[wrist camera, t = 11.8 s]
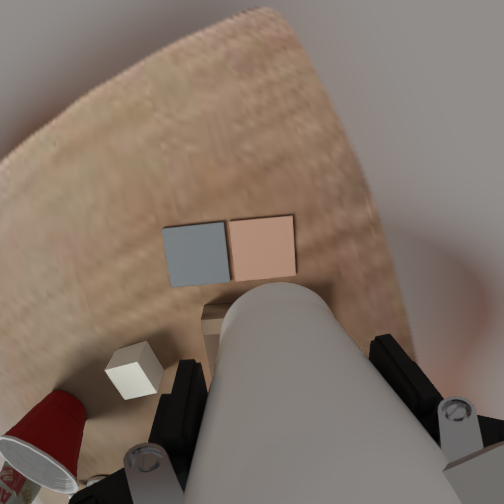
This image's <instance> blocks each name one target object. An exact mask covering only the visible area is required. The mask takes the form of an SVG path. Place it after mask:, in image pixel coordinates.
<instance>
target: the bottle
mask: <svg viewBox="0 0 504 504" xmlns="http://www.w3.org/2000/svg"><path fill="white" fill-rule="evenodd" d="M40 488H41V485H39V484H37V483H35V482H34V481H32V480H30V479H28V478H27V477H25V476H24V475H23V474H21V473H20V472H19V471H17V470H16V469H15V468H13V467H12V466H11V465H10V464H9V463H8V462H7V461H6V462H4V464H3V467H2V469H1V471H0V504H31V503H32V501H33V500H34V499H35V497H36V495H37V494H38V492H39V491H40Z"/></svg>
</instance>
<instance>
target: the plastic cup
mask: <svg viewBox="0 0 504 504" xmlns="http://www.w3.org/2000/svg"><path fill="white" fill-rule="evenodd" d="M85 422H86V410H85V408H84V406H83V405H82V403H81V402H80V401H79V400H78V399H77V398H76V397H74V396H73V395H71V394H69V393H67V392H64V391H61V390H55V391H53V392H51V393H50V394H48V395H47V396H46V397H45V398H44V399H43V400H42V401H41V402H40V403H38V404H37V405H36V406H34V407H33V408H32V409H31V410H30V411H29V412H28V413H27V414H26V415H25V416H24V417H23V418H22V419H21V420H20V421H19V422H18V423H17V424H16V425H15V426H13V427H12V428H11V429H10V430H9V431H7V432H6V433H5V434H4V435H1V436H0V454H1V455H2V457H3V458H4V459H5V460H6V461H7V462H8V463H9V464H10V465H11V466H12V467H13V468H15V469H16V470H17V471H19V472H20V473H21V474H23V475H24V476H25V477H27V478H28V479H30V480H32V481H34V482H35V483H37V484H39V485H41V486H43V487H46V488H48V489H51V490H53V491H56V492H61V493H66V494H71V493H76V492H77V490H78V489H79V485H78V483H77V462H78V457H79V452H80V447H81V442H82V437H83V430H84V426H85Z"/></svg>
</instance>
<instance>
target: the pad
mask: <svg viewBox="0 0 504 504" xmlns="http://www.w3.org/2000/svg"><path fill="white" fill-rule="evenodd" d="M229 225H230V234H231V243H232V253H233V262H234V271H235V280H236V281H246V280H256V279H266V278H276V277H286V276H295V275H296V271H295V251H294V233H293V217H292V215H291V216H280V217H269V218H258V219H247V220H237V221H229Z"/></svg>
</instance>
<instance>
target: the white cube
mask: <svg viewBox="0 0 504 504" xmlns="http://www.w3.org/2000/svg"><path fill="white" fill-rule="evenodd" d="M105 372H106V373H107V375H108V376H109V378H110V379H111V381H112V382H113V384H114V385H115V387H116V388H117V390H118V391H119V392H120V394H121V395H122V397H123V398H124V399H125V400H127V399H132V398H136V397H141V396H146V395H150V394H155V393H157V392H158V389H159V386H160V382H161V379H162V376H163V373H164V369H163V367H162V366H161V364H160V362H159V361H158V359H157V357H156V356H155V354H154V352H153V351H152V349H151V347H150V345H149V344H148V342H147V341H144V342H140V343H137V344H134V345H130V346H127V347H123V348H120V349H117V350H116V351H115V352H114V354H113V356H112V358H111V359H110V361H109V363H108V365H107V367H106V368H105Z"/></svg>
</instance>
